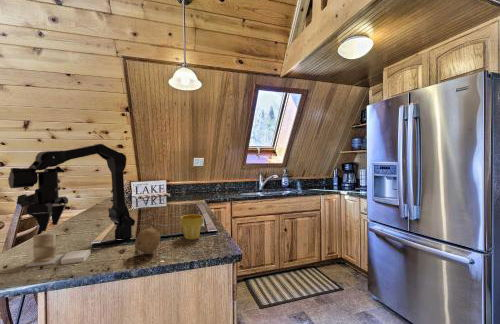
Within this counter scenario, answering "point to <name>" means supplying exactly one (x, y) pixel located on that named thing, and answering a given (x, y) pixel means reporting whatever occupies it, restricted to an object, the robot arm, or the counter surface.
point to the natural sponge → (147, 241)
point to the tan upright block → (44, 247)
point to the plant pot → (191, 226)
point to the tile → (75, 256)
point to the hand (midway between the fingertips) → (49, 227)
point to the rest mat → (45, 262)
